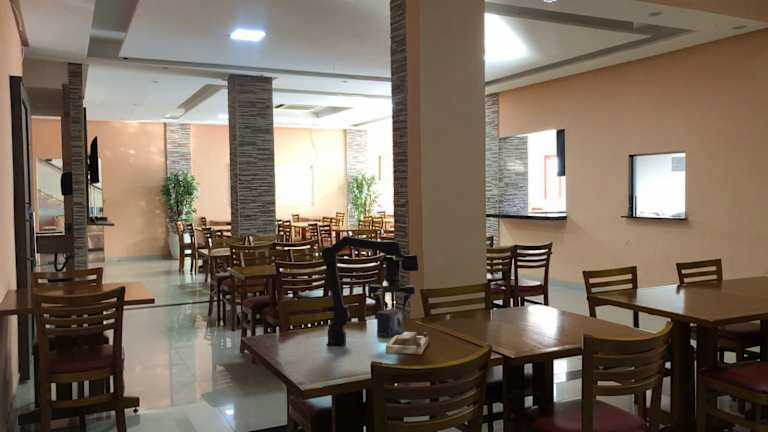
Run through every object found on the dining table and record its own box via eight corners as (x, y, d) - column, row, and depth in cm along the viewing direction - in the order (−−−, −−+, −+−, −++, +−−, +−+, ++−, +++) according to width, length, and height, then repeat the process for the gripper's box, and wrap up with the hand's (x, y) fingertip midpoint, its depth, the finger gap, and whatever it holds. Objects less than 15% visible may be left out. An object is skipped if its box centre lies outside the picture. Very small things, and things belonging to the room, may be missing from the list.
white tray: (385, 352, 234) (385, 342, 234) (395, 341, 252) (395, 331, 252) (421, 354, 231) (421, 343, 231) (428, 342, 249) (428, 332, 249)
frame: (397, 351, 237) (397, 338, 236) (404, 344, 248) (404, 331, 248) (410, 352, 235) (410, 338, 235) (416, 344, 247) (416, 331, 247)
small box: (388, 338, 257) (388, 313, 257) (376, 336, 261) (375, 311, 261) (403, 333, 266) (403, 309, 265) (391, 332, 270) (390, 308, 269)
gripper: (364, 274, 243) (365, 313, 244) (411, 274, 239) (412, 315, 240) (371, 270, 254) (372, 308, 254) (416, 271, 250) (417, 310, 250)
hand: (392, 310), depth 249 cm, fingers open, 9 cm apart
